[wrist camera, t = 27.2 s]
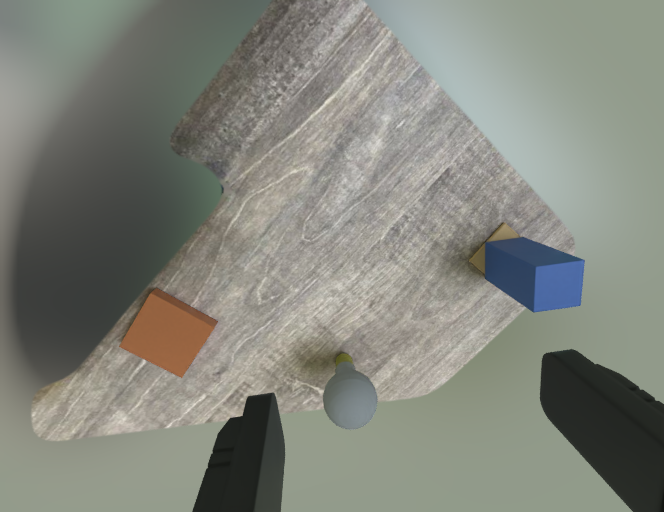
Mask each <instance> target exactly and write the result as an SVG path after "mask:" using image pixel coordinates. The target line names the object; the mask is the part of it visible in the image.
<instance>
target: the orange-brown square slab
mask: <svg viewBox="0 0 664 512" xmlns="http://www.w3.org/2000/svg"><path fill="white" fill-rule="evenodd" d="M217 322H218V321H216V320H214V319H213V318H211V317H209V316H207V315H205V314H203V313H202V312H200V311H198V310H196V309H194V308H192V307H191V306H189V305H187V304H185V303H183V302H181V301H180V300H178V299H176V298H174V297H172V296H170V295H169V294H167V293H165V292H163V291H161V290H160V289H158V288H156V289H154V290H153V291H152V292H151V293H150V295H149V296H148V298H147V300H146V301H145V303H144V305H143V306H142V308H141V310H140V312H139V313H138V315H137V317H136V318H135V320H134V322H133V323H132V325H131V327H130V329H129V330H128V332H127V334H126V335H125V337H124V339H123V340H122V342H121V344H120V346H119V347H121V348H123V349H125V350H127V351H129V352H131V353H133V354H135V355H137V356H139V357H141V358H143V359H145V360H147V361H149V362H151V363H153V364H155V365H157V366H159V367H161V368H163V369H165V370H167V371H169V372H171V373H173V374H175V375H177V376H179V377H181V378H182V377H183V375H184V374H185V372H186V371H187V369H188V368H189V366H190V365H191V363H192V362H193V360H194V358H195V357H196V355H197V354H198V352H199V351H200V349H201V348H202V346H203V345H204V343H205V342H206V340H207V338H208V337H209V335H210V334H211V332H212V331H213V329H214V328H215V326H216V324H217Z"/></svg>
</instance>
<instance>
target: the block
mask: <svg viewBox="0 0 664 512" xmlns="http://www.w3.org/2000/svg"><path fill="white" fill-rule="evenodd" d="M584 262H585V261H584V260H583V259H580V258H577V257H575V256H572V255H570V254H567V253H564V252H562V251H559V250H556V249H554V248H551V247H548V246H546V245H543V244H540V243H538V242H535V241H532V240H530V239H527V238H524V237H520V238H512V239H505V240H498V241H491V242H485V279H486V280H488V281H489V282H490V283H492V284H493V285H495V286H496V287H498V288H499V289H501V290H502V291H503V292H505V293H506V294H508V295H509V296H511V297H512V298H514V299H515V300H516V301H518V302H519V303H521V304H522V305H524V306H525V307H526V308H528V309H529V310H531V311H532V312H540V311H547V310H555V309H562V308H568V307H576V306H580V305H581V295H582V283H583V273H584Z"/></svg>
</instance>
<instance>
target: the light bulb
mask: <svg viewBox="0 0 664 512" xmlns="http://www.w3.org/2000/svg"><path fill="white" fill-rule="evenodd" d="M335 362H336V370H335V372H336V374H335V375H334V376H333V377H332V378H331V379H330V380H329V381H328V383H327V385H326V387H325V390H324V394H323V402H324V409H325V411H326V413H327V415H328V417H329V418H330V420H331V421H332V422H333V423H335V424H336V425H337V426H339V427H341V428H345V429H358V428H360V427H363V426H364V425H366V424H367V423H368V422H369V421H370V420H371V419H372V417H373V415H374V413H375V411H376V407H377V394H376V390H375V387H374V385H373V384H372V382H371V381H370V379H369V378H368V377H367V376H365V375H364V374H362V373H360V372H358V371H356V370H355V367H354V365H353V362H352V358H351V357H350V356H349V355H348V354H340V355H338V356H337V358H336V361H335Z"/></svg>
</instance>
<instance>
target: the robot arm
mask: <svg viewBox="0 0 664 512" xmlns="http://www.w3.org/2000/svg"><path fill="white" fill-rule="evenodd" d="M540 401H541V405H542V408H543V410H544V412H545V414H546V416H547V417H548V419H549V420H550V421H551V422H552V423H553V424H554V426H555V427H556V428H557V429H558V430H559V431H560V432H561V433H562V434H563V435H564V437H565V438H566V439H567V440H568V441H569V442H570V443H571V444H572V445H573V446H574V447H575V449H576V450H577V451H579V453H580V454H581V455H582V456H583V457H584V458H585V460H586V461H587V462H588V463H589V464H590V465H591V466H592V467H593V468H594V469H595V470H596V472H597V473H598V474H599V475H600V476H601V477H602V478H603V479H604V480H605V482H606V483H607V484H608V485H609V486H610V487H611V488H612V489H613V490H614V491H615V492H616V494H617V495H618V496H619V497H620V498H621V499H622V500H623V501H624V502H625V503H626V505H627V506H628V507H629V508H630V509H631V510H632V511H633V512H664V404H663V403H661V402H660V401H655V398H654V397H652V396H651V395H650V394H648V393H647V392H645V391H644V390H640V389H639V387H638V386H636V385H635V384H634V383H632V382H631V381H630V380H628V379H627V378H625V377H624V376H622V375H621V374H619V373H617V372H615V371H612V370H610V369H608V368H605V367H603V366H601V365H599V364H594V363H593V362H591V361H590V360H589V359H587V358H586V357H584V356H583V355H582V354H580V353H579V352H578V351H576V350H572V349H571V350H563V351H557V352H550V353H546V354H544V355H543V358H542V369H541V388H540ZM284 463H285V443H284V436H283V430H282V426H281V421H280V415H279V410H278V405H277V401H276V396H275V394H274V393H267V394H260V395H254V396H248V398H247V400H246V404H245V408H244V412H243V416H240V417H234V418H230V419H229V420H228V422H227V423H226V424H225V425H224V427H223V428H222V429H221V430H220V432H219V433H218V435H217V439H216V442H215V445H214V448H213V454H211V457H210V460H209V463H208V468H207V469H206V472H205V475H204V478H203V481H202V484H201V487H200V490H199V493H198V496H197V499H196V502H195V505H194V508H193V512H281V500H282V488H283V475H284Z"/></svg>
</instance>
